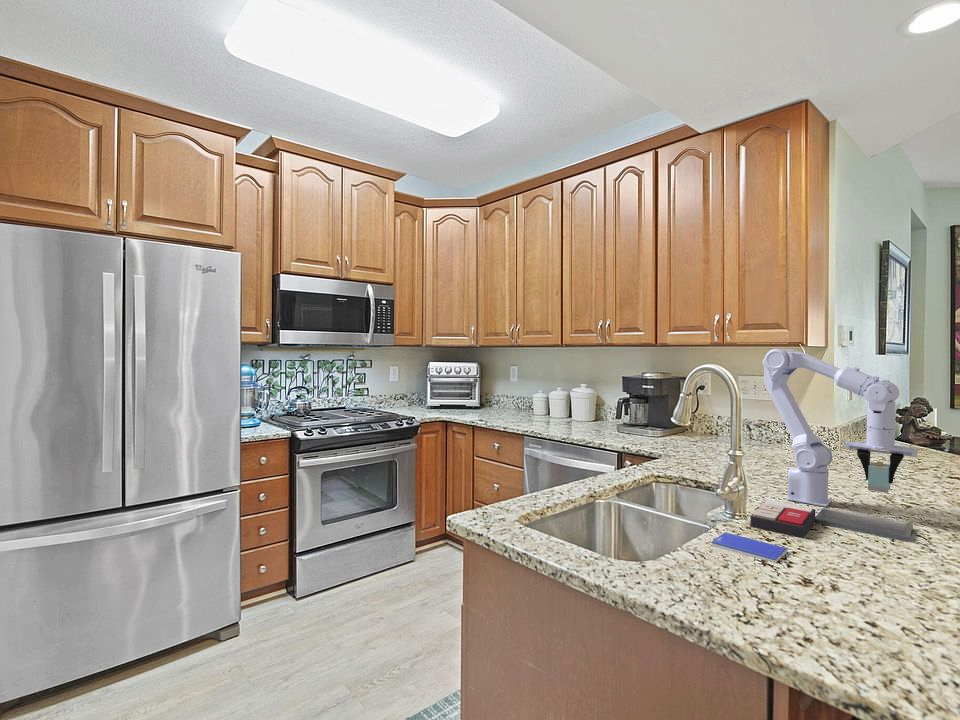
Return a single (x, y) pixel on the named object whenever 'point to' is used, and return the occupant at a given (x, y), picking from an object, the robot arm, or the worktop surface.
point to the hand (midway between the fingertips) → (879, 480)
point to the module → (879, 477)
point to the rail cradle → (865, 524)
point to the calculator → (783, 518)
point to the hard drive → (749, 547)
